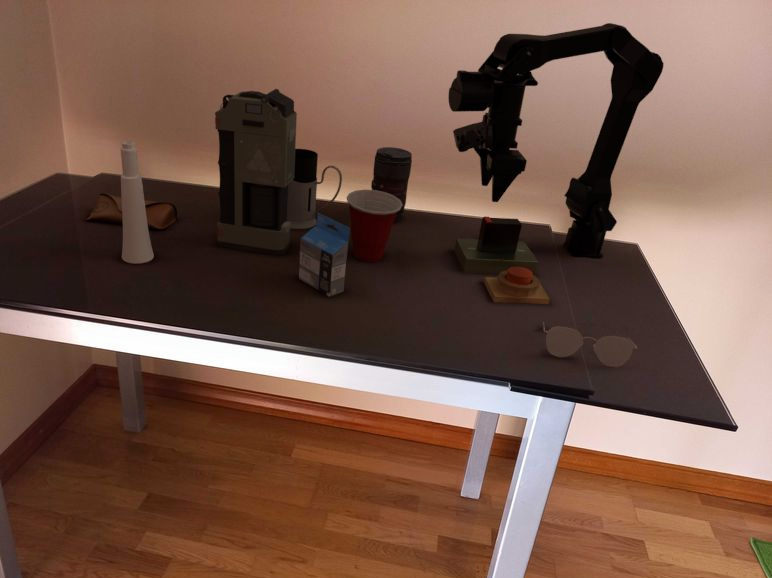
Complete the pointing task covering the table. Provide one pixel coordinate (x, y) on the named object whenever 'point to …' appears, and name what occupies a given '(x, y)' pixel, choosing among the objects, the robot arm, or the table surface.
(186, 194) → the table surface
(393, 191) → the camera lens
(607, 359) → the sunglasses
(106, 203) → the sunglasses case
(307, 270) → the ink cartridge box
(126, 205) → the cosmetic bottle
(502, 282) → the button block
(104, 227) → the table surface
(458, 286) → the table surface
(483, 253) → the panel
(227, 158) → the device
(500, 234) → the selector
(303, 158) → the glass holder
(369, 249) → the plastic cup
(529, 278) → the button
